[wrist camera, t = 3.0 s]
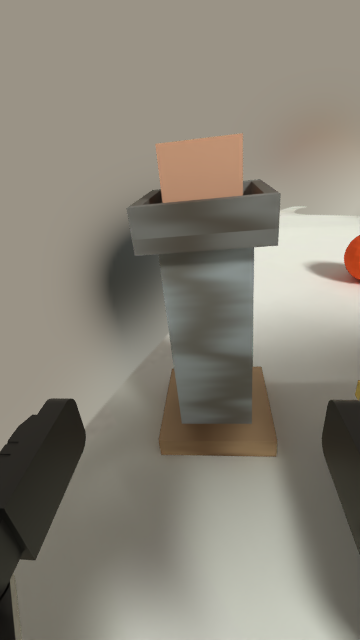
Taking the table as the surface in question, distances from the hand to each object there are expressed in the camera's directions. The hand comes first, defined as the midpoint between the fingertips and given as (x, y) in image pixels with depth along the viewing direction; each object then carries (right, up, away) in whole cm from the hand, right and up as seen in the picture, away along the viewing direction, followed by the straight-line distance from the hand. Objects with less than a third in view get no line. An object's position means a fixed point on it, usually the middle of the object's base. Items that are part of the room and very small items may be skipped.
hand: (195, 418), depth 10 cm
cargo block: (+1, +9, +8) cm, 12 cm away
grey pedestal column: (+3, -4, +15) cm, 16 cm away
